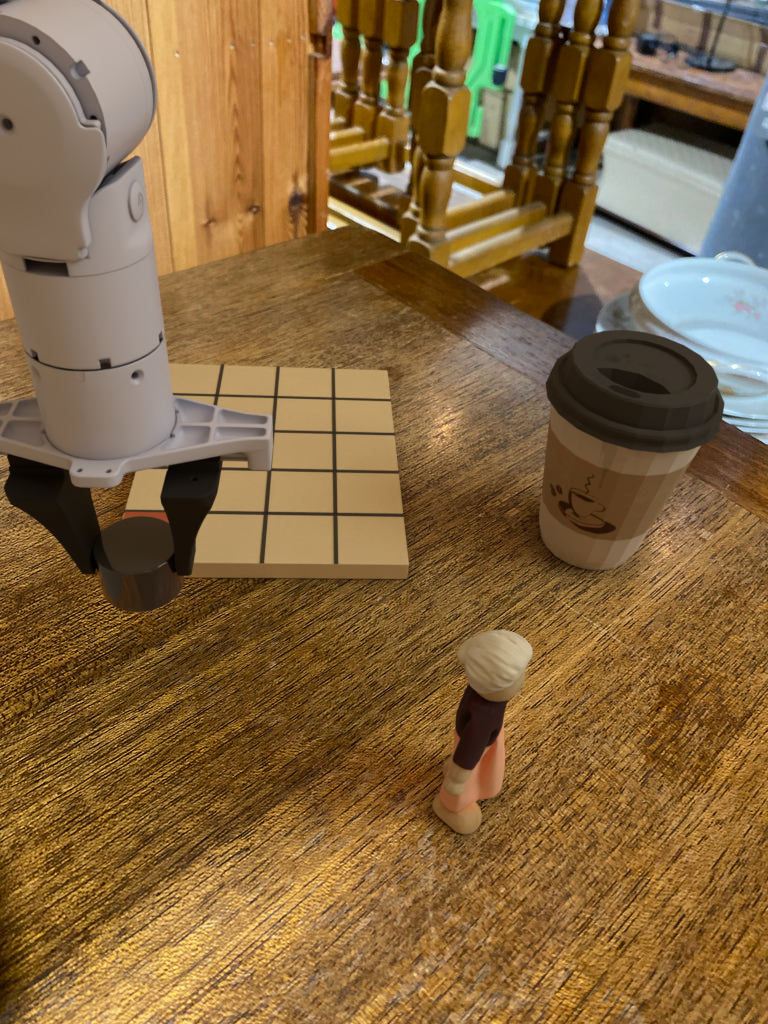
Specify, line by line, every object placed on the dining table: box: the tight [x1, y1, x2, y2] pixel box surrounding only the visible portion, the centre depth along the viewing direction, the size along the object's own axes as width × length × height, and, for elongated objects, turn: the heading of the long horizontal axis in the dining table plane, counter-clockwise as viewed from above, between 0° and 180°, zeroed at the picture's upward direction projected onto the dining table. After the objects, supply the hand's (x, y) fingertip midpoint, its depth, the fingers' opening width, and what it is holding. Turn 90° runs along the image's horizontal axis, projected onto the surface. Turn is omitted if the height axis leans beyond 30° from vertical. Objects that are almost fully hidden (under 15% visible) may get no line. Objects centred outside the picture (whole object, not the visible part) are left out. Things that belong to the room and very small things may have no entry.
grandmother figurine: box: [431, 629, 534, 835], centre depth 39 cm, size 8×4×13 cm, turn 171°
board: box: [121, 363, 410, 580], centre depth 62 cm, size 20×25×2 cm
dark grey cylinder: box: [92, 516, 186, 613], centre depth 42 cm, size 4×4×3 cm
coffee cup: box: [538, 329, 725, 571], centre depth 54 cm, size 11×11×15 cm
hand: (139, 561), depth 42 cm, fingers closed on dark grey cylinder, 4 cm apart
